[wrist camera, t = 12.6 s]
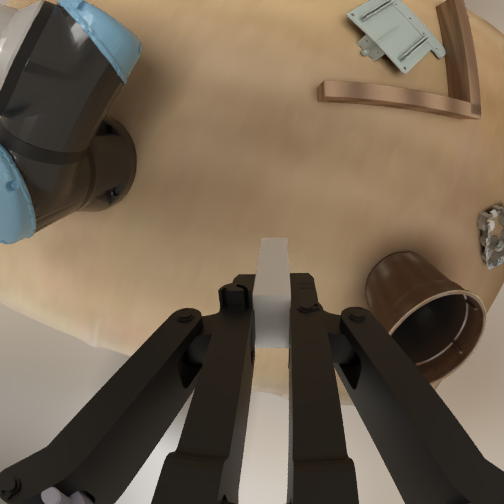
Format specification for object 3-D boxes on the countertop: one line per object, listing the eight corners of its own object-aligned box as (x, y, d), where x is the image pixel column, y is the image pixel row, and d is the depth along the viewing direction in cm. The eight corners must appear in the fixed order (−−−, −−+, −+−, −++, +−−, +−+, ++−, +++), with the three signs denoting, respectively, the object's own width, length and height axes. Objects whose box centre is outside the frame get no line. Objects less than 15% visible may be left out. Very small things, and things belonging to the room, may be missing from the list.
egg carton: (473, 212, 38) (487, 220, 35) (501, 199, 37) (515, 205, 33) (479, 265, 42) (490, 275, 38) (505, 251, 40) (517, 259, 36)
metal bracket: (419, 85, 28) (335, 0, 24) (395, 96, 33) (321, 20, 30) (456, 46, 27) (388, -26, 24) (434, 56, 33) (372, -9, 29)
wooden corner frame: (318, 101, 35) (325, 96, 30) (307, -16, 28) (311, -35, 22) (459, 118, 33) (481, 119, 27) (445, 10, 25) (463, 0, 20)
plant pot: (397, 337, 48) (425, 400, 34) (332, 301, 46) (350, 371, 32) (453, 269, 42) (502, 320, 28) (393, 220, 40) (443, 266, 26)
